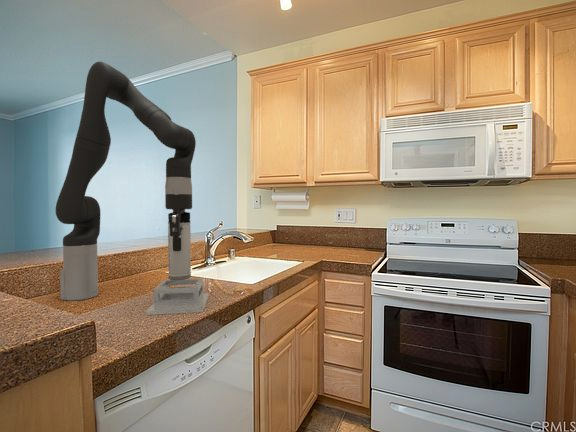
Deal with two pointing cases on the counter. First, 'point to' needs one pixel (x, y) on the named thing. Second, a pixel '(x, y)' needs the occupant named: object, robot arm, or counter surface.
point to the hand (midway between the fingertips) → (179, 249)
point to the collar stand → (178, 297)
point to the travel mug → (180, 252)
